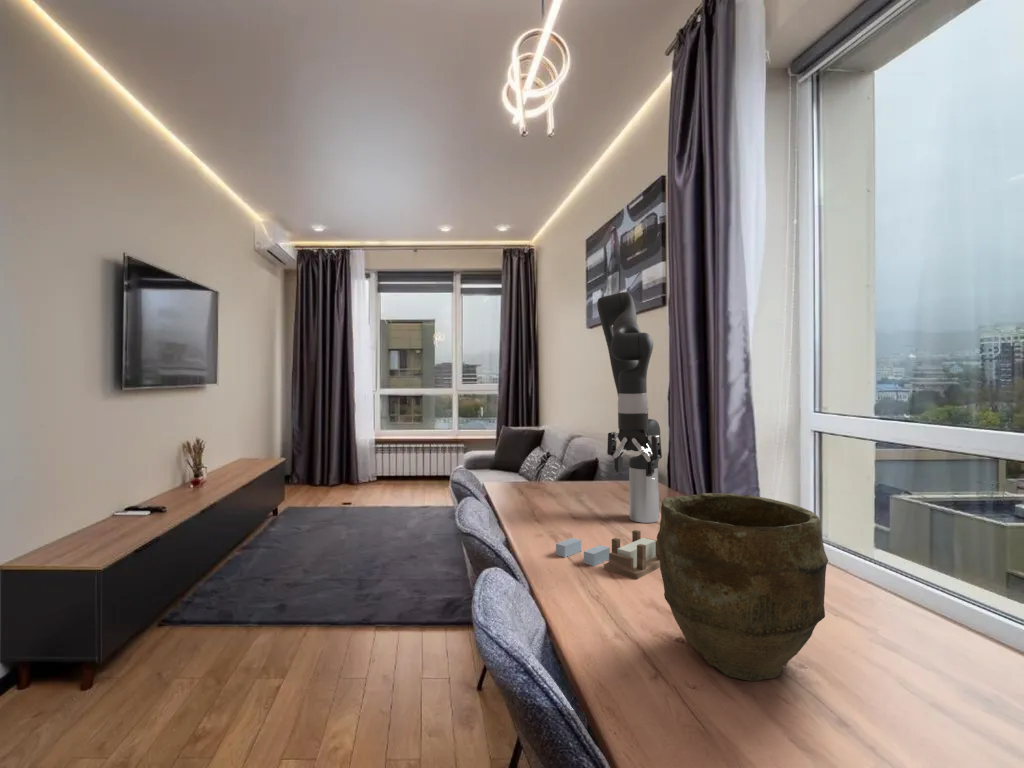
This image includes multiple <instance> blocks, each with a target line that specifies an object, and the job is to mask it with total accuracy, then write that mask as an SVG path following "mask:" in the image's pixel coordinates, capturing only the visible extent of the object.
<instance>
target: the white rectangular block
mask: <svg viewBox="0 0 1024 768" xmlns="http://www.w3.org/2000/svg"><path fill="white" fill-rule="evenodd" d="M646 538H647V537H645V538H644V537H641V539H639V540H637V541H634V542H630V543H627V544H625V545H623V546H620V548H618V549H617V554H619V555H623V556H627V557H630V558H633V567H635V566H637V545H639V544H643V545H646V561H648V560H650V559H652V558H654V557H656V541H655V539H652V540H651V538H648V539H646Z"/></svg>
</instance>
